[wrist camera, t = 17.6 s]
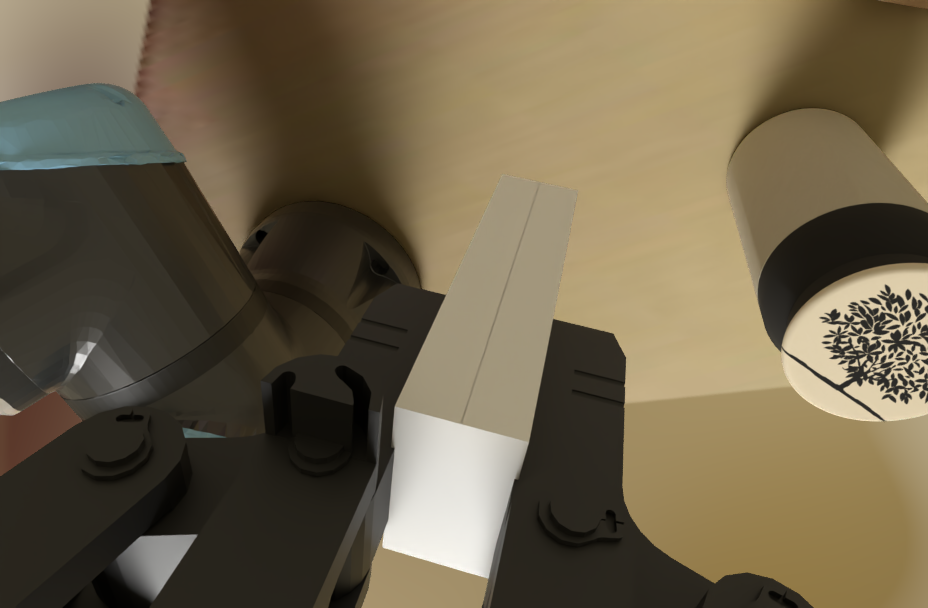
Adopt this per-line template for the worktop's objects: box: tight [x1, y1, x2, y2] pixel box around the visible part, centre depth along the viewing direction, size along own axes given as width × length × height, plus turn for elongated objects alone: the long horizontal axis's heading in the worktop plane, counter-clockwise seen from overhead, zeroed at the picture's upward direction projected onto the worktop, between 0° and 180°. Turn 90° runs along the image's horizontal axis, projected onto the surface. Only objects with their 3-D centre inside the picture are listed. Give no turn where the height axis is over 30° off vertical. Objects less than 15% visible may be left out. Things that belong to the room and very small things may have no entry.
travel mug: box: [726, 108, 928, 421], centre depth 31 cm, size 8×8×18 cm
